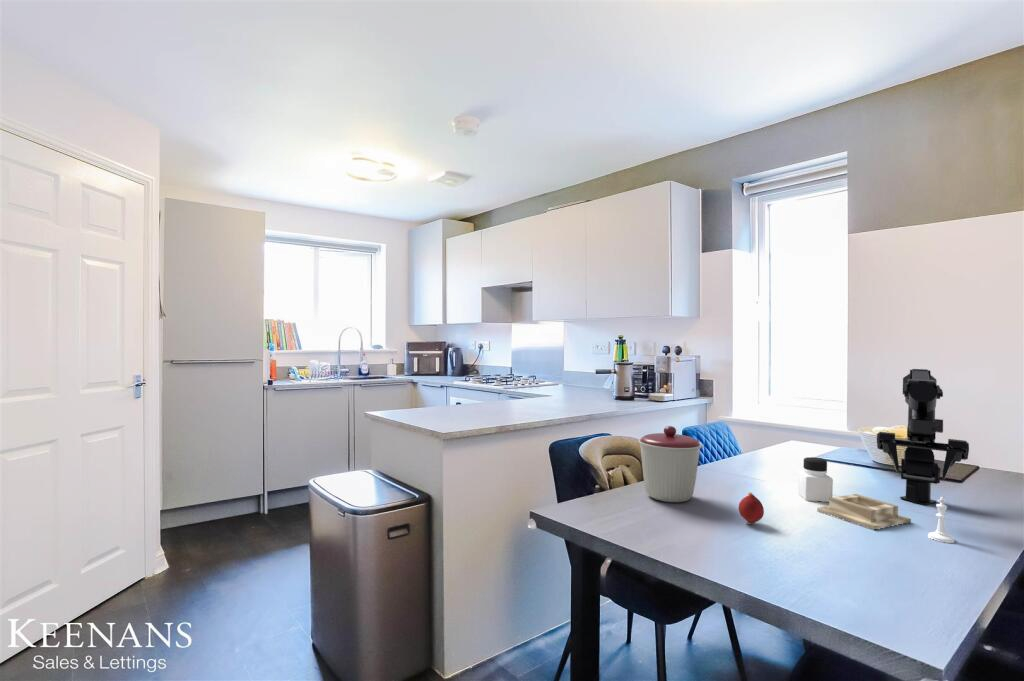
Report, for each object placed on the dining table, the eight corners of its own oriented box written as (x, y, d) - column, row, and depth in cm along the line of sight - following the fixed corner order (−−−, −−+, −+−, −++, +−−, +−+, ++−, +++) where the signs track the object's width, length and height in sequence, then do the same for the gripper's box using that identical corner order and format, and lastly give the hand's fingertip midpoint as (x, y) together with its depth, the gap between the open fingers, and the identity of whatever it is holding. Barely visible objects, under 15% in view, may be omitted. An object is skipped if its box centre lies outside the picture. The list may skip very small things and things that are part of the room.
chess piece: (922, 535, 125) (923, 494, 125) (941, 534, 126) (941, 494, 126) (940, 543, 120) (941, 500, 120) (960, 542, 121) (961, 500, 121)
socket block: (853, 505, 148) (853, 491, 148) (910, 522, 134) (911, 507, 134) (817, 511, 142) (817, 496, 142) (874, 530, 128) (874, 514, 128)
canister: (680, 512, 139) (681, 434, 139) (624, 495, 153) (626, 425, 153) (713, 499, 151) (714, 427, 151) (659, 485, 165) (660, 419, 165)
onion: (761, 521, 133) (762, 490, 133) (765, 529, 127) (765, 497, 127) (737, 518, 135) (737, 488, 135) (739, 526, 129) (739, 494, 129)
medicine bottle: (832, 502, 150) (833, 461, 149) (805, 500, 151) (806, 460, 151) (823, 495, 156) (823, 456, 156) (797, 493, 158) (798, 454, 158)
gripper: (877, 402, 139) (874, 455, 132) (969, 409, 128) (971, 467, 121) (879, 422, 146) (875, 473, 139) (966, 431, 135) (968, 487, 128)
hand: (920, 475), depth 131 cm, fingers open, 9 cm apart
